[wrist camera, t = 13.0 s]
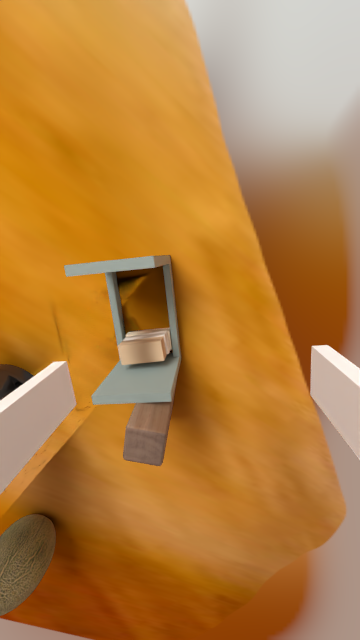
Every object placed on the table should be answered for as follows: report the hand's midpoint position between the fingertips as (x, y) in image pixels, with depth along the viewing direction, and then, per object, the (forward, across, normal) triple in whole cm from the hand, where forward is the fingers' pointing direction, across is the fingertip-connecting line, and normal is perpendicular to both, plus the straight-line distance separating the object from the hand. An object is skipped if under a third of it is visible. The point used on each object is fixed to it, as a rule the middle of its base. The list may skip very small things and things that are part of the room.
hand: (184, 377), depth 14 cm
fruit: (+28, -38, -47) cm, 67 cm away
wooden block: (+28, -7, -15) cm, 33 cm away
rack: (+28, -9, -2) cm, 29 cm away
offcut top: (+23, -8, -7) cm, 26 cm away
